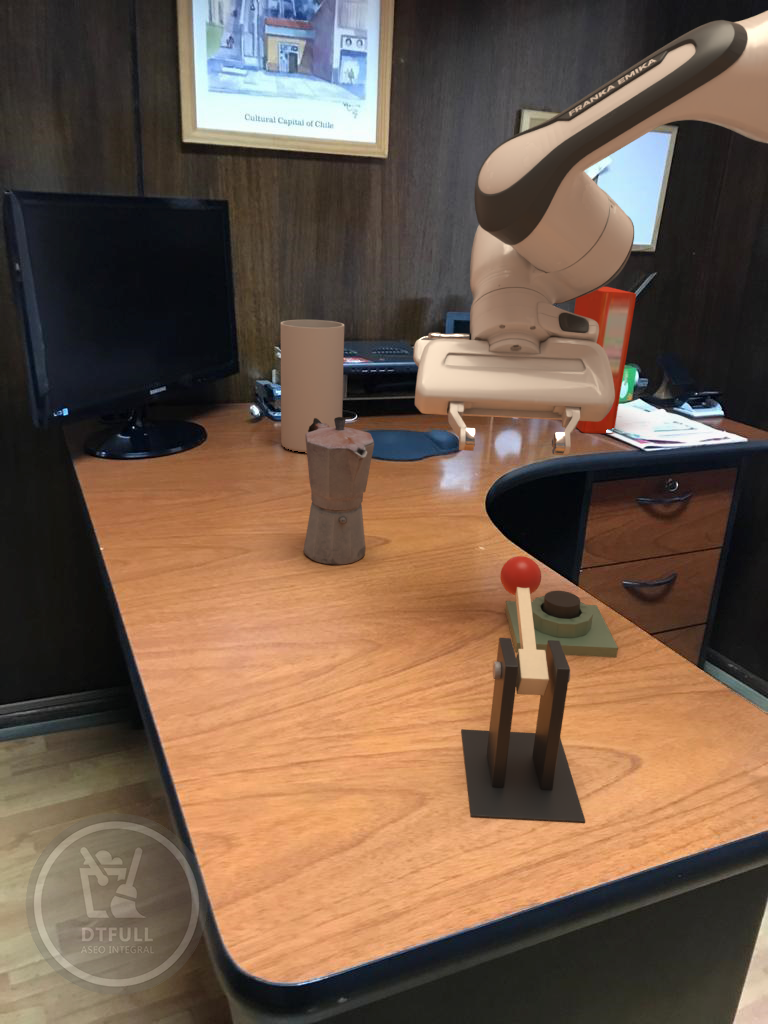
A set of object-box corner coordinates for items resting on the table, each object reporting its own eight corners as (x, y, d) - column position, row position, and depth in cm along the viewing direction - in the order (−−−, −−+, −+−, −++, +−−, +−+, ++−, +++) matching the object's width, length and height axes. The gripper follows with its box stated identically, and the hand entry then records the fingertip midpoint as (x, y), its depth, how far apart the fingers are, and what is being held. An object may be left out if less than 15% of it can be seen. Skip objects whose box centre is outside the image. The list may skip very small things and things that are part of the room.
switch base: (460, 739, 71) (471, 616, 67) (557, 744, 71) (575, 621, 67) (469, 827, 61) (483, 688, 56) (583, 833, 61) (606, 695, 56)
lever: (496, 572, 72) (502, 547, 69) (535, 574, 72) (542, 548, 69) (506, 698, 63) (513, 673, 60) (551, 700, 63) (559, 675, 60)
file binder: (590, 416, 198) (609, 286, 186) (615, 433, 182) (636, 292, 170) (560, 415, 197) (576, 285, 186) (581, 433, 181) (601, 291, 170)
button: (574, 604, 90) (576, 591, 89) (581, 621, 86) (583, 607, 86) (540, 603, 90) (541, 589, 89) (546, 619, 86) (547, 605, 86)
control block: (594, 621, 94) (599, 591, 93) (615, 665, 85) (620, 633, 83) (504, 616, 94) (507, 587, 93) (515, 660, 85) (518, 628, 83)
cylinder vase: (269, 443, 161) (268, 321, 153) (318, 435, 169) (319, 318, 160) (303, 458, 153) (304, 329, 144) (353, 448, 160) (357, 326, 152)
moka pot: (333, 579, 102) (335, 432, 95) (276, 540, 113) (275, 406, 106) (391, 564, 107) (397, 423, 100) (331, 528, 119) (333, 399, 112)
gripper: (415, 313, 80) (411, 429, 74) (613, 322, 80) (624, 438, 74) (412, 350, 86) (408, 460, 80) (597, 358, 85) (606, 469, 80)
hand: (514, 450), depth 77 cm, fingers open, 8 cm apart
